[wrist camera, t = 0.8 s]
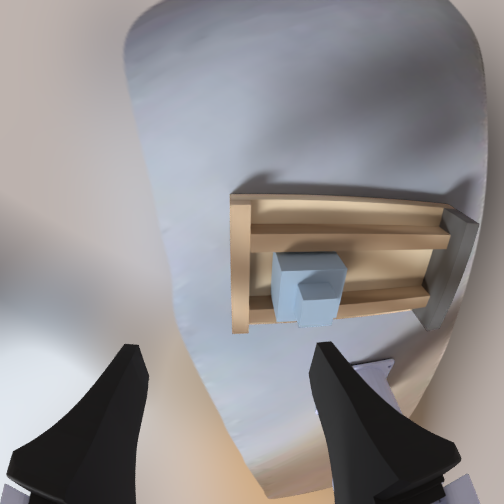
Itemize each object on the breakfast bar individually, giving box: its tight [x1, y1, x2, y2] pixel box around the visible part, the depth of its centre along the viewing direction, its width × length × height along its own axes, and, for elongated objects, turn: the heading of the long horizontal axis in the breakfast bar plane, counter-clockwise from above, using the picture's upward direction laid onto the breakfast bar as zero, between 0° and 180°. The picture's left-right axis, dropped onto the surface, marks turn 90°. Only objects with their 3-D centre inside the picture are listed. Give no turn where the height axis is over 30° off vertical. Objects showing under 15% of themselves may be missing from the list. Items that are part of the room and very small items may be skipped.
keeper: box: [270, 251, 347, 328], centre depth 18 cm, size 4×4×5 cm
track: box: [230, 194, 479, 334], centre depth 20 cm, size 10×18×4 cm, turn 89°
